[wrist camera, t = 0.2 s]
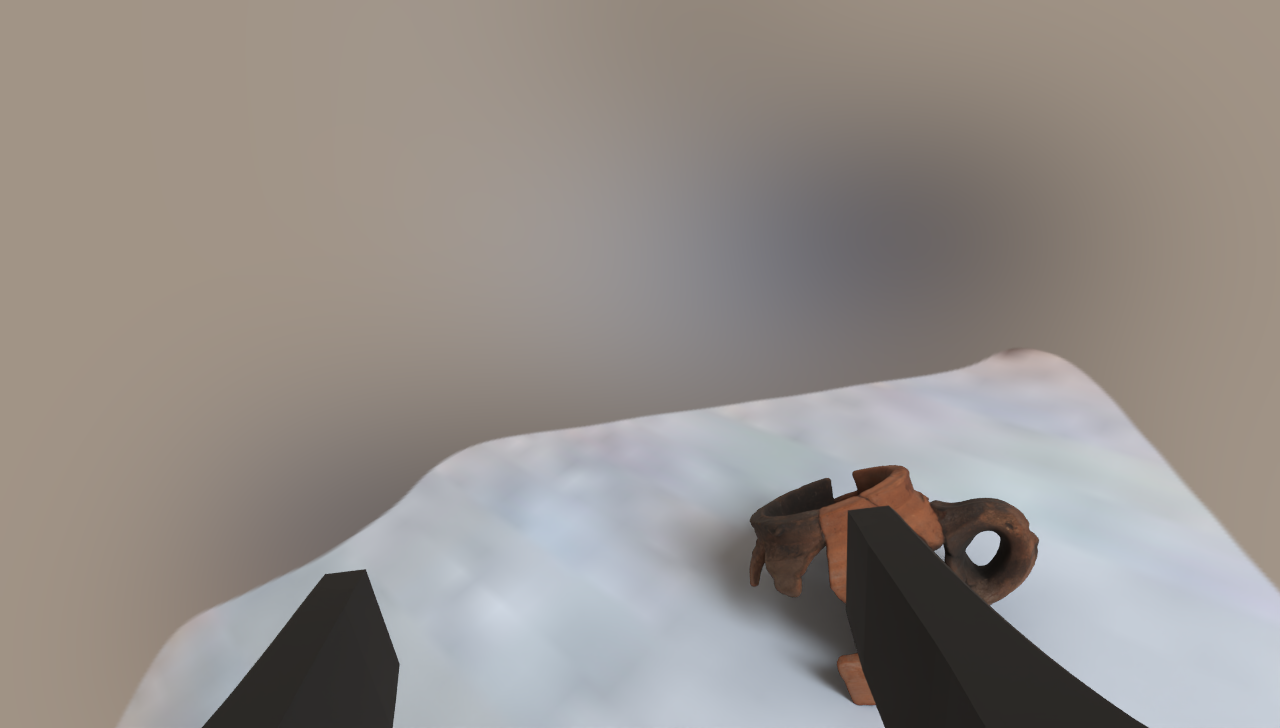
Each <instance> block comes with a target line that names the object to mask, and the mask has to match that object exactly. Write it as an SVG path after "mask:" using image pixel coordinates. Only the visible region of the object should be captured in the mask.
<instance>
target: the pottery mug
mask: <svg viewBox="0 0 1280 728" xmlns="http://www.w3.org/2000/svg"><path fill="white" fill-rule="evenodd" d="M852 475H853V478H854V480H855V483H856V486H857V491H854V492H851V493H847V494H845V495H842V496H840V497H837V498H835V499H834V498H833V493H832V486H831V480H830V479H829V478H824V479H821V480H818V481H815V482H812V483H810V484H807V485H804V486H802V487H801V488H799V489H796V490H793V491H790V492H788V493H786V494H784V495H782V496H780V497H778V498H776V499H775V500H773V501H772V502H770V503H768V504H767V505H765V506H763V507H762V508H760V509H758V510H757V512H756V513H754V514H753V515H752V517H751V519H750V522H751V525H752V527H753V528H754V530H755V532H756V535H757V537H758V539H757V541H756V547H755V549H754V550H753V552H752V559H751V564H750V584H751V586H753V587H755V586H757V585H758V584H759V580H760V574H761V570H762V567H763V565H764V563H766V568H767V571H768V572H769V574H770V575H771V576H772V577H773V579H774V584H775V587H776V589H777V590H778V591H779V592H780V593H782V594H785V595H787V596H790V597H798V596H800V594H801V592H802V576H803V575H804V574H805V572H806V570H807V568H808V566H809V564H810V563H811V561H812V560H813V558H814V557H815V556H816V555H817V554H818V553H819V552H820V551H821V549H823V548H824V547H825V546H826V548H827V550H826V552H827V558H828V567H829V581H830V587H831V589H832V590H833V591H834V592H835V594H836V595H837V597H838V598H839V599H840V600H842V601H843V602H844V603H846V572H847V519H848V510H855V509H863V508H871V507H879V506H888V505H889V506H890V507H891V508H893V509H894V510H895V511H896V512H897V513H898V514H899V515H900V516H901V517H902V518H903V519H904V521H905V522H906V523H907V524H908V525H909V526H910V527H911V528H912V529H913V530H914V531H915V532H916V533H917V535H918V536H919V537H920V538H921V539H922V540H923V541H924V542H925V543H926V544H927V545H928V546H929V547H930V548H931V549H932V550H933V551H935V550H937V549H939V548H940V547H941V546H942V545H944V549H945V563H946V564H947V565H948V566H949V567H950V568H951V569H952V570H953V571H954V572H955V573H956V574H957V575H958V576H959V577H960V578H961V579H962V580H963V581H964V582H965V583H966V584H967V585H968V586H969V587H970V588H971V589H972V590H974V591H975V592H976V593H977V594H978V595H979V596H980V597H981V598H982V599H983V600H984V601H985V602H986V603H987V604H989V605H991V604H993V603H995V602H997V601H999V600H1001V599H1002V598H1004V597H1006V596H1007V595H1008V594H1009V593H1011V592H1012V591H1014V590H1015V589H1016V588H1017V587H1019V586H1020V585H1021V584H1022V583H1023V582H1024V580H1025V579H1026V578H1027V577H1028V575H1029V574H1030V572H1031V570H1032V568H1033V566H1034V565H1035V561H1036V558H1037V554H1038V549H1037V546H1038V543H1039V539H1038V537H1037V536H1036V535H1035V534H1034V533H1033V532H1031V531H1030V530H1029V522H1028V520H1027V519H1026V518H1025V516H1024V514H1023V513H1022V512H1021V511H1019V510H1018V509H1017V508H1015V507H1014V506H1012V505H1010V504H1009V503H1007V502H1004V501H1002V500H999V499H993V498H977V499H970V500H966V501H962V502H956V503H947V502H942V501H937V500H935V501H932V502H929V501H928V500H929V498H927V497H926V496H924V495H923V494H922V493H921V492H918V491H915V490H914V489H913V486H912V483H911V480H910V477H909V471H908V470H907V469H906V468H905V467H903V466H897V465H889V466H879V467H872V468H866V469H861V470H856V471H854V472H853V474H852ZM983 531H994V532H995V533H997V534H998V535H999V536H1000V539H1001V541H1000V546H999V549H998V551H997V553H996V555H995V556H994V558H993V559H992V560H991V561H990V562H989V563H988V564H987V565H984V566H978V565H976V564H974V563H973V562H972V561H971V560H970V558H969V557H968V555H967V554H966V552H965V550H966V548H967V546H968V545H969V544H970V543H971V541H972V540H973V538H974V537H975V536H976V535H977V534H979V533H980V532H983ZM837 667H838V671H839V673H840V676H841V677H842V678H843V680H844V681H845V683H846V686H847V689H848V691H849V693H850V696H851V698H852V700H853V702H854V703H855V704H856V705H876V704H875V701H874V699H873V696H872V694H871V691H870V689H869V686H868V684H867V681H866V679H865V676H864V673H863V670H862V667H861V663H860V660H859V656H858V653H855V654H850V655H842V656H840V657H839V659H838V661H837Z"/></svg>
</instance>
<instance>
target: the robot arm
mask: <svg viewBox="0 0 1280 728" xmlns="http://www.w3.org/2000/svg"><path fill="white" fill-rule="evenodd" d="M846 612H847V616H848V620H849V623H850V627H851V631H852V634H853V638H854V642H855V646H856V649H857V653H858V656H859V660H860V663H861V667H862V670H863V673H864V676H865V679H866V681H867V684H868V686H869V689H870V691H871V694H872V696H873V699H874V701H875V704H876V706H877V709H878V711H879V714H880V716H881V719H882V721H883V724H884V726H885V728H1148V727H1147V726H1145V725H1143V724H1142V723H1140V722H1139V721H1137V720H1135V719H1134V718H1132V717H1131V716H1129V715H1128V714H1126V713H1125V712H1123V711H1122V710H1121V709H1119V708H1118V707H1116V706H1115V705H1113V704H1112V703H1110V702H1109V701H1107V700H1106V699H1105V698H1103V697H1102V696H1100V695H1099V694H1098V693H1096V692H1095V691H1094V690H1092V689H1091V688H1090V687H1088V686H1087V685H1085V684H1084V683H1083V682H1081V681H1080V680H1079V679H1077V678H1076V677H1075V676H1073V675H1072V674H1071V673H1069V672H1068V671H1067V670H1065V669H1064V668H1063V667H1062V666H1060V665H1059V664H1058V663H1056V662H1055V661H1054V660H1053V659H1051V658H1050V657H1049V656H1048V655H1046V654H1045V653H1044V652H1043V651H1041V650H1040V649H1039V648H1038V647H1037V646H1036V645H1034V644H1033V643H1032V642H1031V641H1030V640H1028V639H1027V638H1026V637H1025V636H1024V635H1022V634H1021V633H1020V632H1019V631H1018V630H1017V629H1015V628H1014V627H1013V626H1012V625H1011V624H1010V623H1008V622H1007V621H1006V620H1005V619H1004V618H1003V617H1002V616H1001V615H999V614H998V613H997V612H996V611H995V610H994V609H993V608H992V607H991V606H990V605H989V604H987V603H986V602H985V601H984V600H983V599H982V598H981V597H980V596H979V595H978V594H977V593H976V592H975V591H974V590H972V589H971V588H970V587H969V586H968V585H967V584H966V583H965V582H964V581H963V580H962V579H961V578H960V577H959V576H958V575H957V574H956V573H955V572H954V571H953V570H952V569H951V568H950V567H949V566H948V565H947V564H946V563H945V562H944V561H943V560H942V559H941V558H940V557H939V556H938V555H937V554H936V553H935V552H934V551H933V550H932V549H931V548H930V547H929V546H928V545H927V544H926V543H925V542H924V541H923V540H922V539H921V538H920V537H919V536H918V535H917V533H916V532H915V531H914V530H913V529H912V528H911V527H910V526H909V525H908V524H907V523H906V522H905V521H904V519H903V518H902V517H901V516H900V515H899V514H898V513H897V512H896V511H895V510H894V509H893V508H891V507H890V506H889V505H888V506H879V507H871V508H863V509H855V510H848V519H847V572H846ZM398 674H399V661H398V658H397V656H396V653H395V650H394V647H393V644H392V642H391V639H390V636H389V633H388V631H387V628H386V625H385V622H384V619H383V617H382V614H381V611H380V608H379V605H378V603H377V600H376V597H375V594H374V591H373V589H372V586H371V583H370V580H369V577H368V575H367V572H366V569H364V570H356V571H348V572H340V573H332V574H325V575H324V576H323V578H322V579H321V580H320V581H319V582H318V584H317V585H316V586H315V587H314V589H313V590H312V591H311V592H310V594H309V595H308V596H307V598H306V599H305V600H304V602H303V603H302V604H301V605H300V607H299V608H298V609H297V611H296V612H295V613H294V615H293V616H292V617H291V618H290V620H289V621H288V622H287V624H286V625H285V626H284V628H283V629H282V630H281V631H280V633H279V634H278V635H277V637H276V638H275V639H274V640H273V642H272V643H271V644H270V646H269V647H268V648H267V650H266V651H265V652H264V653H263V655H262V656H261V657H260V658H259V660H258V661H257V662H256V663H255V665H254V666H253V667H252V668H251V670H250V671H249V672H248V673H247V674H246V676H245V677H244V678H243V679H242V681H241V682H240V683H239V684H238V686H237V687H236V688H235V689H234V691H233V692H232V693H231V694H230V696H229V697H228V698H227V699H226V700H225V702H224V703H223V704H222V705H221V706H220V707H219V708H218V710H217V711H216V712H215V713H214V714H213V715H212V717H211V718H210V719H209V720H208V721H207V722H206V723H205V725H204V726H203V727H202V728H393V719H394V711H395V703H396V694H397V684H398Z"/></svg>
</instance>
